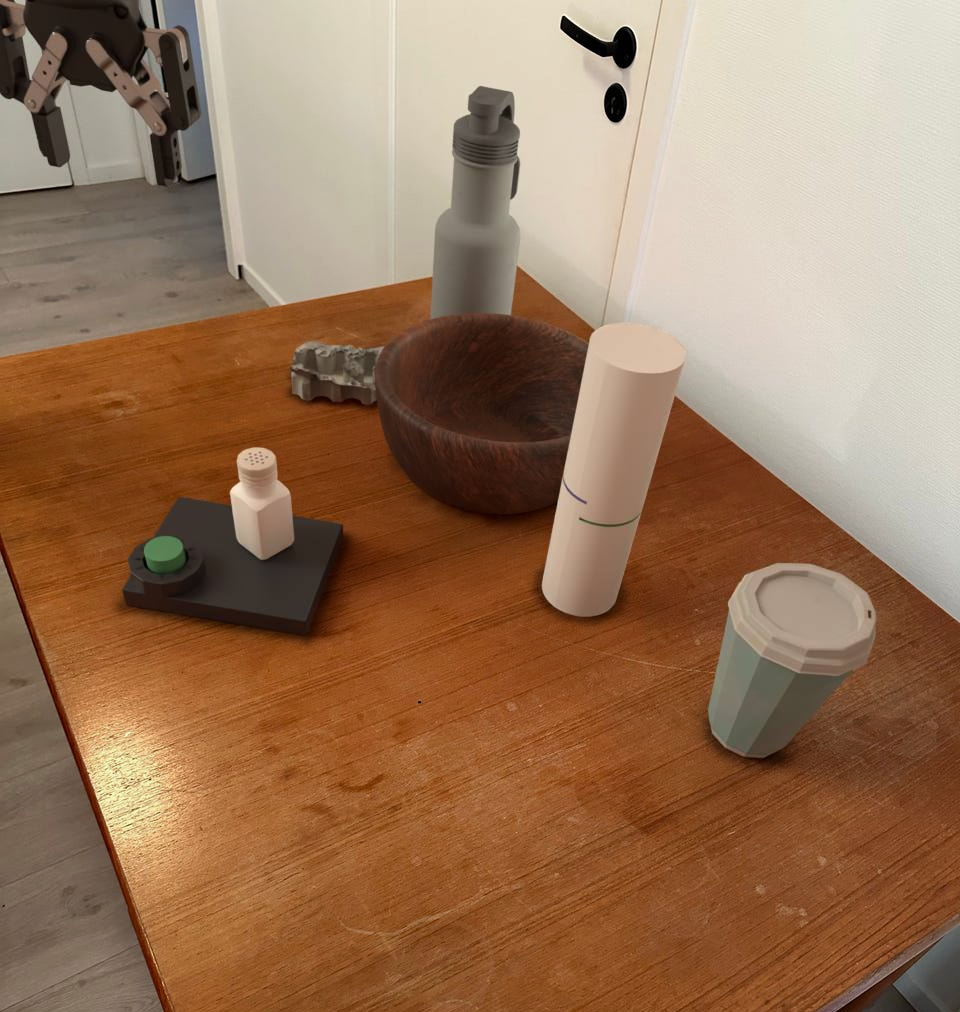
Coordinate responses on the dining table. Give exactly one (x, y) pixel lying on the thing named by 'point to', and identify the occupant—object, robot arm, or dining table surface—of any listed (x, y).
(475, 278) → the water bottle
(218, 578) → the dark grey flat block
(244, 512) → the pepper shaker
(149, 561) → the button
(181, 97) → the robot arm
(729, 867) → the dining table surface
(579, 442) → the cylindrical container
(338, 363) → the egg carton
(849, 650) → the disposable coffee cup
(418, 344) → the wooden bowl
